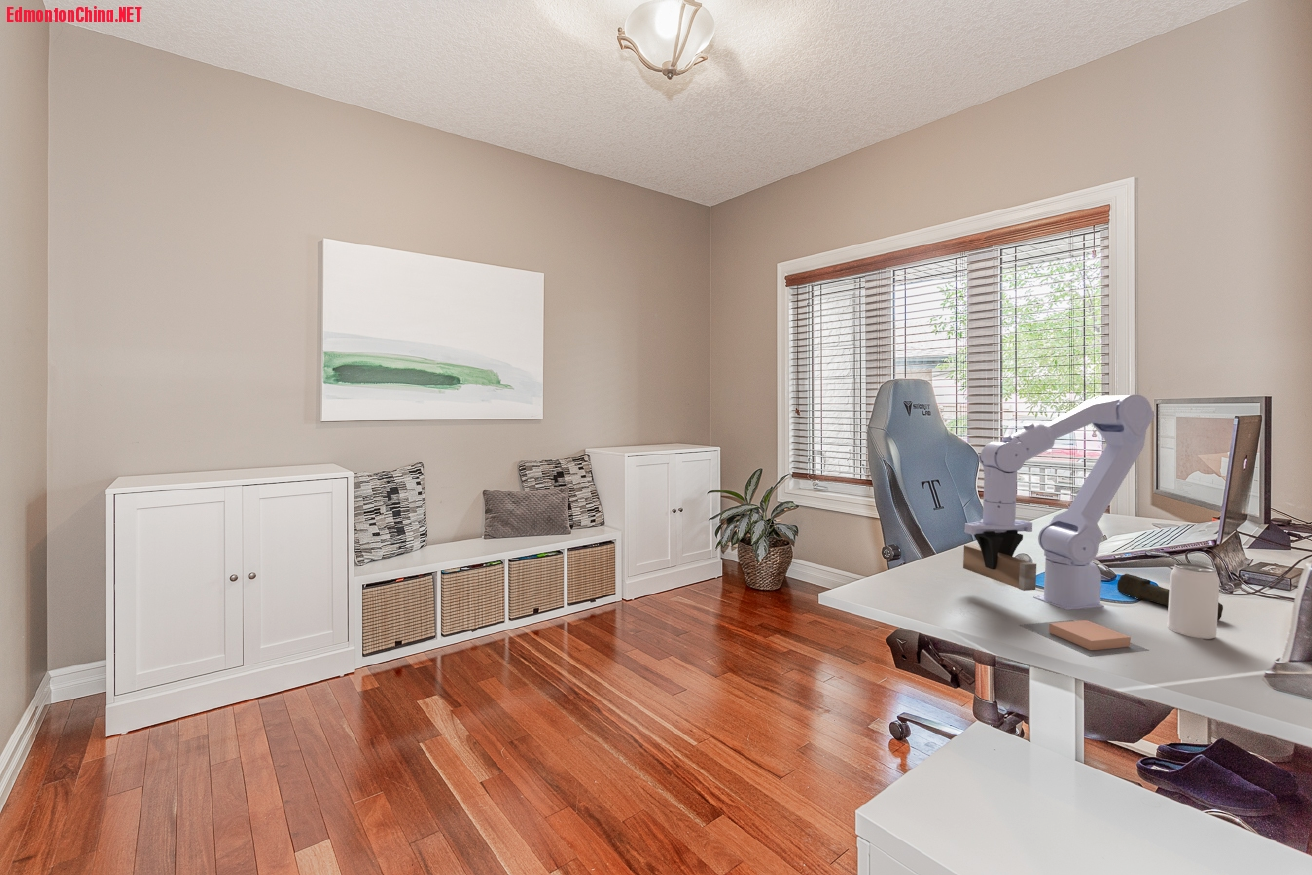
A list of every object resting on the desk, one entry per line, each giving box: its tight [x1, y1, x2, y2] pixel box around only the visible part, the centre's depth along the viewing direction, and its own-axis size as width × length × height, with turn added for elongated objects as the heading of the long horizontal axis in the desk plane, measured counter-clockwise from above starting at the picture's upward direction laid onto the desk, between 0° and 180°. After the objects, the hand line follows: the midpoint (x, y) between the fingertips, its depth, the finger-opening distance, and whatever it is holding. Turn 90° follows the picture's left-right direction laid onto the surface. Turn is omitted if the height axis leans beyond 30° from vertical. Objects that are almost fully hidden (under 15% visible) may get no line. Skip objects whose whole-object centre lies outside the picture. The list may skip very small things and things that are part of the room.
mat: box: [1019, 619, 1149, 657], centre depth 104 cm, size 12×14×1 cm
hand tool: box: [1116, 573, 1224, 622], centre depth 122 cm, size 19×4×5 cm, turn 11°
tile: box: [1049, 619, 1132, 651], centre depth 102 cm, size 8×2×8 cm
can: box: [1167, 562, 1220, 641], centre depth 106 cm, size 6×6×12 cm
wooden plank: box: [962, 544, 1037, 592], centre depth 122 cm, size 3×16×5 cm, turn 13°
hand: (996, 567), depth 122 cm, fingers closed on wooden plank, 2 cm apart
